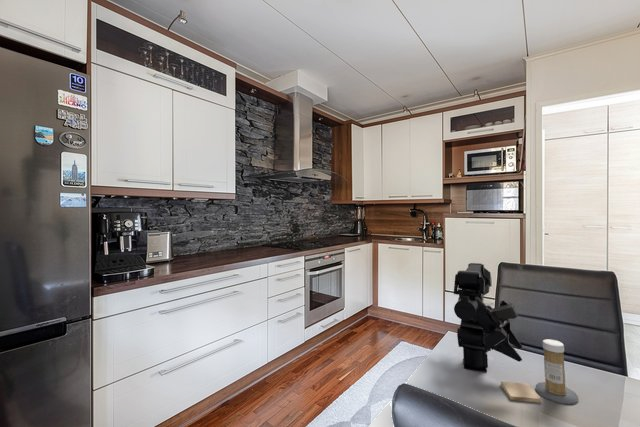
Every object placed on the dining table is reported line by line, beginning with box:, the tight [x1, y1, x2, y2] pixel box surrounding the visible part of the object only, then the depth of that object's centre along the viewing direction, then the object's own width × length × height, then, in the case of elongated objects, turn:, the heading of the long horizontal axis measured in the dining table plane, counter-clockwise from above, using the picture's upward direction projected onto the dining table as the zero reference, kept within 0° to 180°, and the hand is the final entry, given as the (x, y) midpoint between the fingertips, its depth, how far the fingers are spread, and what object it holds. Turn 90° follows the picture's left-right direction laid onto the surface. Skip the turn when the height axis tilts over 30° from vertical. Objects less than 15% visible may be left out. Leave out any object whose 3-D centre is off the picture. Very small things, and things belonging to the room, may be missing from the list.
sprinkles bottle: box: [542, 338, 566, 396], centre depth 79 cm, size 5×5×14 cm
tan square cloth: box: [500, 381, 542, 404], centre depth 80 cm, size 7×7×1 cm
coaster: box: [535, 381, 579, 405], centre depth 79 cm, size 9×9×1 cm
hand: (521, 354), depth 84 cm, fingers open, 9 cm apart
